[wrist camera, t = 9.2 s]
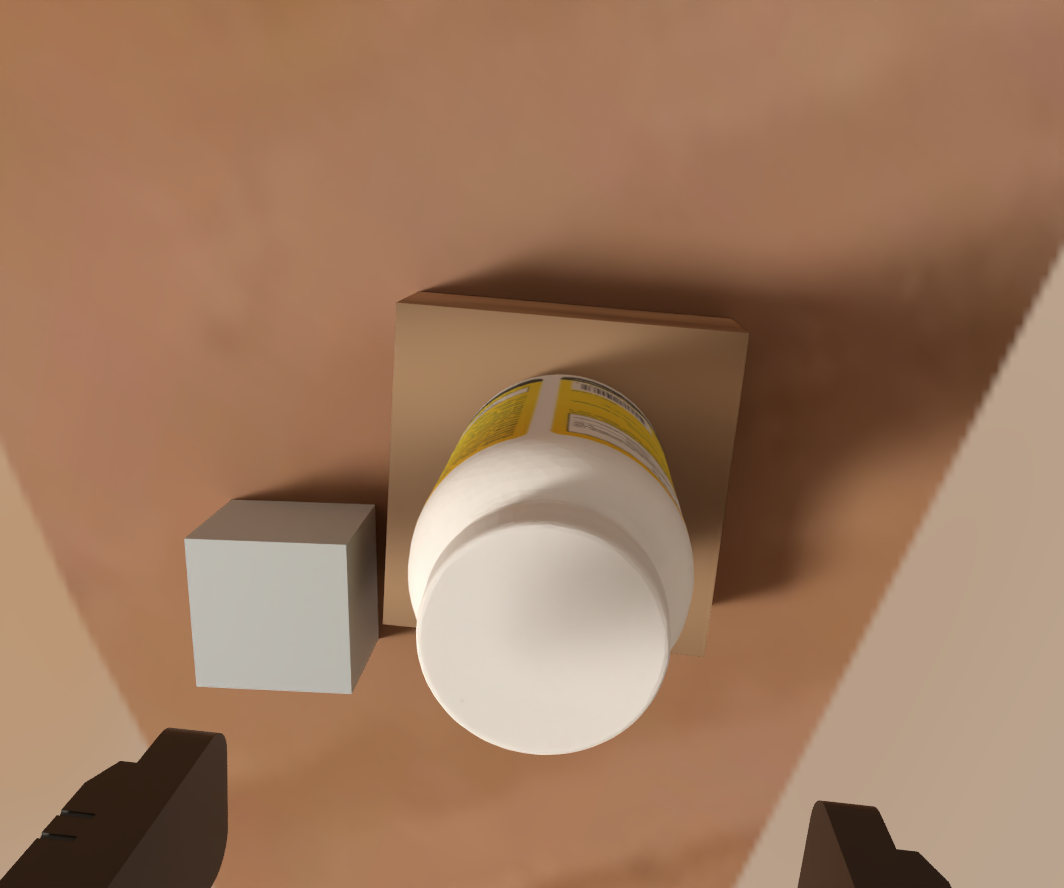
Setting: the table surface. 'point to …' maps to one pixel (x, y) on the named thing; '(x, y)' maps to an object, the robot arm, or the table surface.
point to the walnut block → (571, 349)
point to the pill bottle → (551, 568)
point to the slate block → (283, 595)
